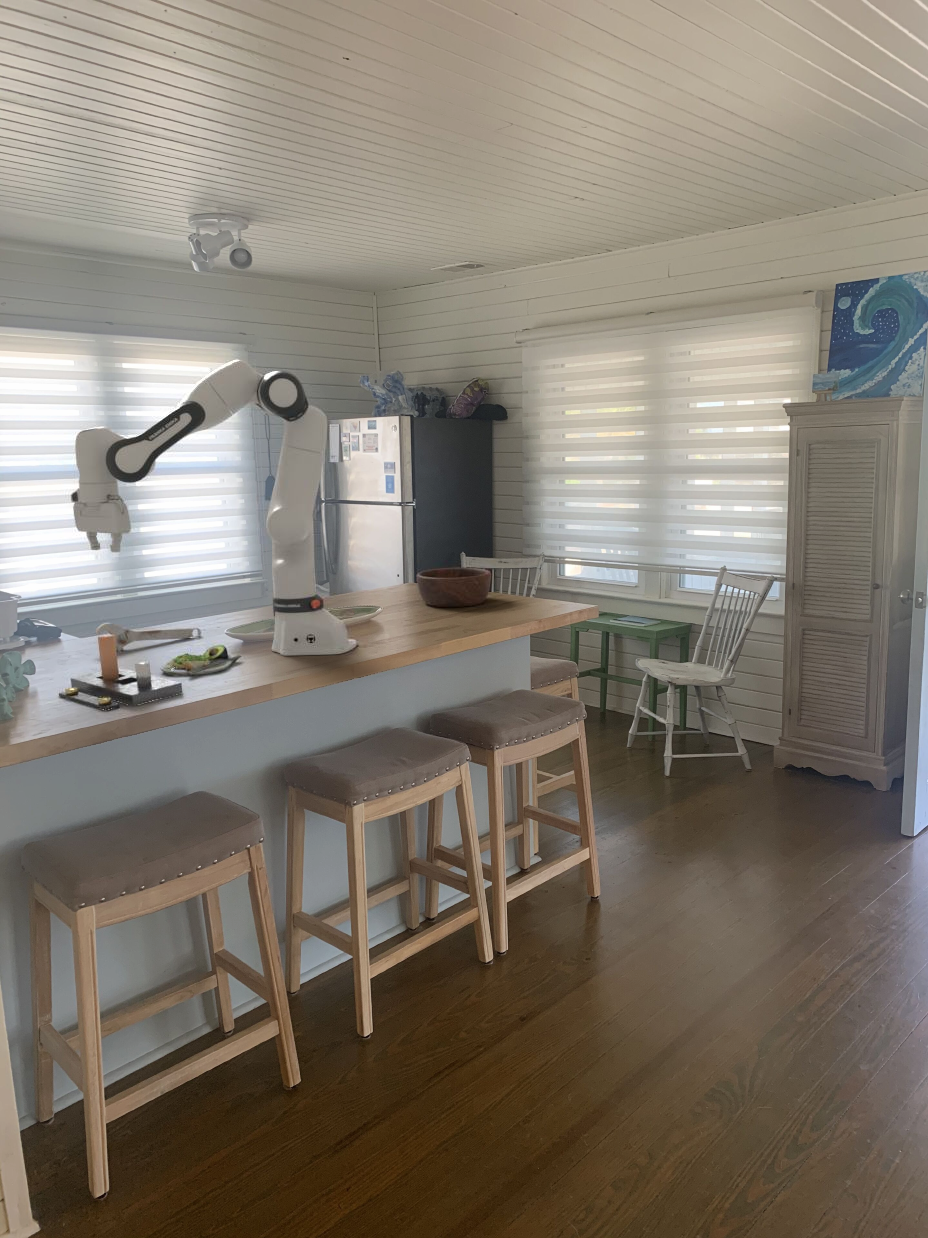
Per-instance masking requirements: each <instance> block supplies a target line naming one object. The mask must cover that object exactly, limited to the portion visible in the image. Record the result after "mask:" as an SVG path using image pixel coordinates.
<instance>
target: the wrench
mask: <svg viewBox="0 0 928 1238" xmlns="http://www.w3.org/2000/svg"><path fill="white" fill-rule="evenodd" d="M195 630H196V632H197V633H196V635H197V636H200V637H201V636H202V631H201V629H200V628H198V627H180V628H179V627H178V628H163V629H162V628H160V629H159V628H158V629H140V630H132V629H127V628H124V627H122V626H119V625H117V624H115V623H111V622H103V623H101V624H100V625H98V626H97V627H96V628H95V631H94V634H95V635H100V634H102V633H104V632H107V633H108V634H109V635H115V643H116V650H118V651H117V652H121V651H120V650H122V651H124V647H126V646H127V645H129V644H131V643H133V642H140V641H141V642H142V641H158V640H159V641H161V640H162V641H163V640H182V639H183V638H190V637H194V636H195V635H193V632H194V631H195ZM190 639H191V638H190Z"/></svg>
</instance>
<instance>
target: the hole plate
mask: <svg viewBox="0 0 928 1238" xmlns="http://www.w3.org/2000/svg"><path fill="white" fill-rule="evenodd" d="M150 663H151V662H149V661H139V662H136V663H135V664H134V668H135V670H131V669H127V668H123V667H120V666H118V671H119V678H116V679H111V680H107V681H106V680H102V671H101V670H100V671H96V672H92V673H88V674H87V673H86V674H83V675H78V676H74V677H71V678H70V684H71V685H70V686H71V687H68V688H66V689H64V691H61V692H58V697H59V696H60V698H63V699H66V698H67V699H66V700H69V699H70V701H72V700H73V702H76V703H79V702H80V703H79V704H82V703H83V705H85V704H86V705H85V706H88V705H90V706H89V707H92V706H93V707H92V708H95V707H96V708H95V709H98V708H101V709H104V710H103V711H105V710H108V709H111V708H116V709H118V708H117V707H119V708H120V703H119V702H122V703H125V704H124V705H126V704H128V705H127V706H129V705H132V706H134V707H136V706H135V705H138V704H142V703H145V702H149V701H152V700H156V699H160V698H164V699H166V698H165V697H168V698H170V697H169V696H172V697H174V696H173V695H175V696H177V695H176V694H179V695H182V694H183V685H182V682H179V681H176V680H172V679H167V678H163V677H160V676H155V675H153V674H152V673H151V664H150ZM78 690H79V691H78ZM81 691H83V692H81ZM85 692H86V693H85ZM88 693H90V694H88ZM181 693H182V694H181ZM92 694H93V695H92ZM95 695H97V696H95ZM98 696H101V697H98ZM102 697H103V698H102ZM112 700H115V701H119V702H115V701H112ZM160 700H161V699H160ZM122 703H121V704H122ZM149 703H150V702H149ZM145 704H146V703H145ZM142 705H143V704H142ZM132 706H131V707H132ZM138 706H139V705H138ZM101 709H100V710H101ZM108 711H109V710H108Z"/></svg>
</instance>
